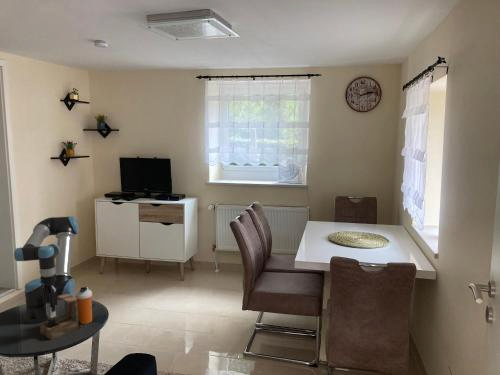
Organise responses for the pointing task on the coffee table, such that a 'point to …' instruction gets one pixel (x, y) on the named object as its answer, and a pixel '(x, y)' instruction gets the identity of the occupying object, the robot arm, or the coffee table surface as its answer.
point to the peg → (50, 320)
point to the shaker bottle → (84, 305)
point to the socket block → (63, 319)
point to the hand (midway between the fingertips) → (51, 315)
